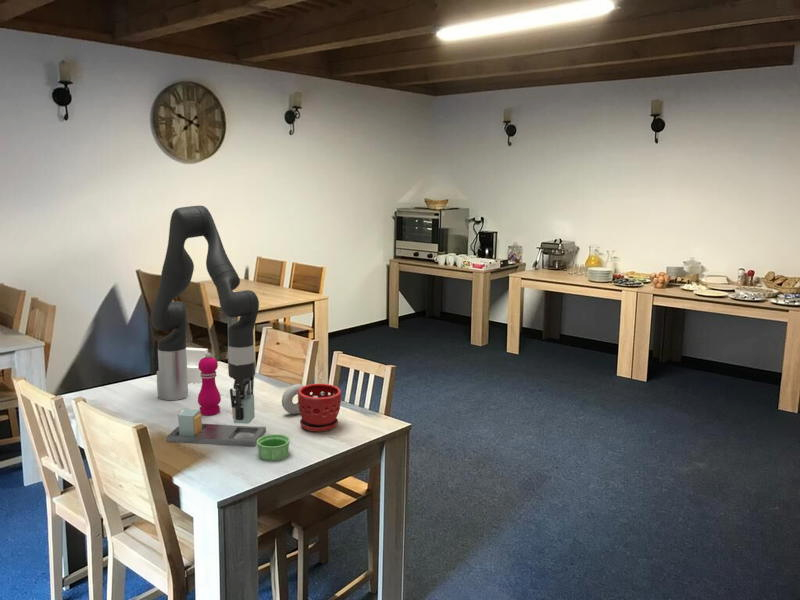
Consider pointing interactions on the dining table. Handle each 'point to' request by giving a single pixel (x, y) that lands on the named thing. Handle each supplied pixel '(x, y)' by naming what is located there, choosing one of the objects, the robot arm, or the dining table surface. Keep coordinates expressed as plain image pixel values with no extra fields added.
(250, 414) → the grey-green block
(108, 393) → the dining table surface
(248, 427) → the grey rectangular tray
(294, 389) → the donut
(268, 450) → the ramekin
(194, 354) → the base with upright slab
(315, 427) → the plant pot
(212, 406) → the pepper mill
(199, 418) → the sage green block
